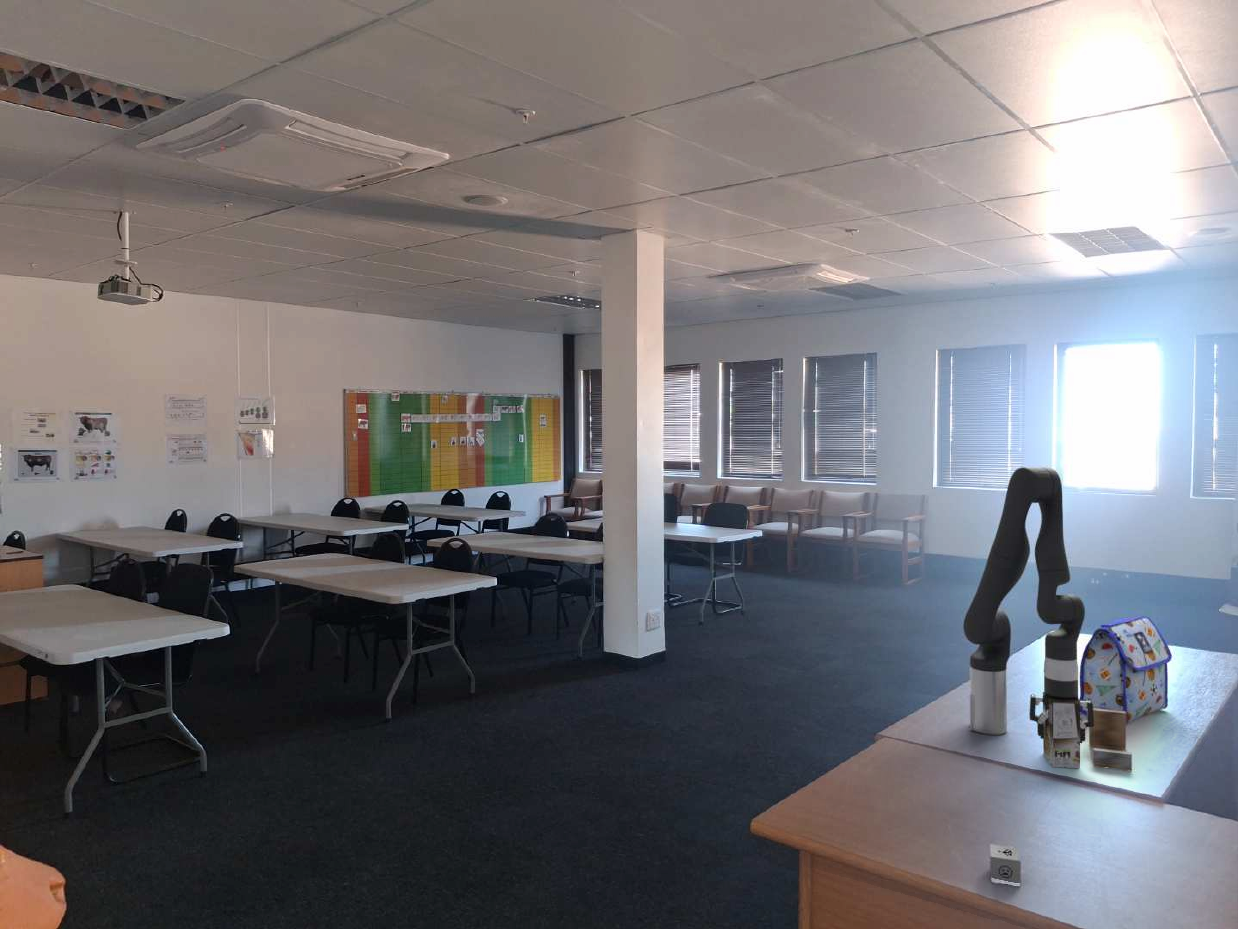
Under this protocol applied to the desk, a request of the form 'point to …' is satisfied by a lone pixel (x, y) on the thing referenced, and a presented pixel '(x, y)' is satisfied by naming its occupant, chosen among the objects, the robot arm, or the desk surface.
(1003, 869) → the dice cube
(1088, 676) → the lunch bag
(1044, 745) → the coffee box
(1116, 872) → the desk surface
